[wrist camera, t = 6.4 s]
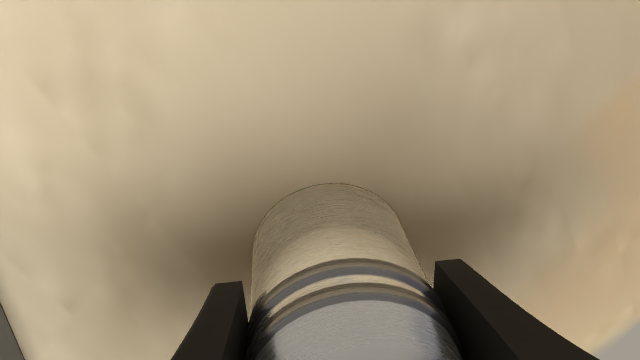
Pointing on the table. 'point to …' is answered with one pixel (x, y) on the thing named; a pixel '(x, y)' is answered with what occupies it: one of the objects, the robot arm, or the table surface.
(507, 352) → the robot arm
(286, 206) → the piston
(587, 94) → the table surface
